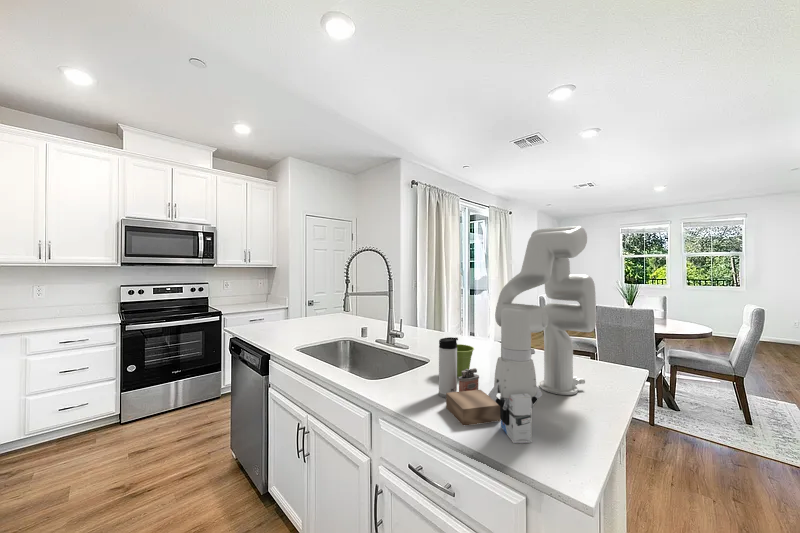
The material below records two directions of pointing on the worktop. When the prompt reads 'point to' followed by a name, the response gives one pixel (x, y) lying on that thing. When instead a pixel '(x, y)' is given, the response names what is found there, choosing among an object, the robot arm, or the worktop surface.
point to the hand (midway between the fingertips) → (515, 421)
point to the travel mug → (447, 366)
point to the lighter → (468, 380)
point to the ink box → (519, 418)
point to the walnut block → (472, 407)
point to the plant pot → (463, 358)
